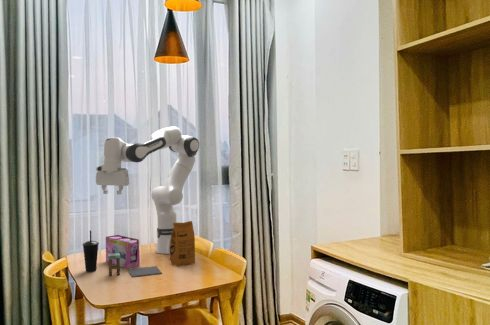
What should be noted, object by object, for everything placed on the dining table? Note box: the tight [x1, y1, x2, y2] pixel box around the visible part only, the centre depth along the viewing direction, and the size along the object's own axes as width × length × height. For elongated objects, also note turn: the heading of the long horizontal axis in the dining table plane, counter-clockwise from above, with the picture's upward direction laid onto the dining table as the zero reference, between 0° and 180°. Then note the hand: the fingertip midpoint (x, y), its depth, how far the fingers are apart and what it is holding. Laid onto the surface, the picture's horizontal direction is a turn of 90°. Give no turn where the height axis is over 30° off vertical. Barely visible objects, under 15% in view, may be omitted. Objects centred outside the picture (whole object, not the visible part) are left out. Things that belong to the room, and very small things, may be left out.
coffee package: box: [169, 220, 196, 267], centre depth 218 cm, size 10×12×22 cm
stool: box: [108, 253, 121, 277], centre depth 198 cm, size 5×5×10 cm
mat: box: [127, 265, 163, 278], centre depth 202 cm, size 14×14×1 cm
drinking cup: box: [82, 230, 100, 273], centre depth 205 cm, size 8×8×20 cm
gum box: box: [105, 234, 141, 269], centre depth 219 cm, size 24×8×14 cm, turn 45°
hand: (112, 194), depth 219 cm, fingers open, 8 cm apart
